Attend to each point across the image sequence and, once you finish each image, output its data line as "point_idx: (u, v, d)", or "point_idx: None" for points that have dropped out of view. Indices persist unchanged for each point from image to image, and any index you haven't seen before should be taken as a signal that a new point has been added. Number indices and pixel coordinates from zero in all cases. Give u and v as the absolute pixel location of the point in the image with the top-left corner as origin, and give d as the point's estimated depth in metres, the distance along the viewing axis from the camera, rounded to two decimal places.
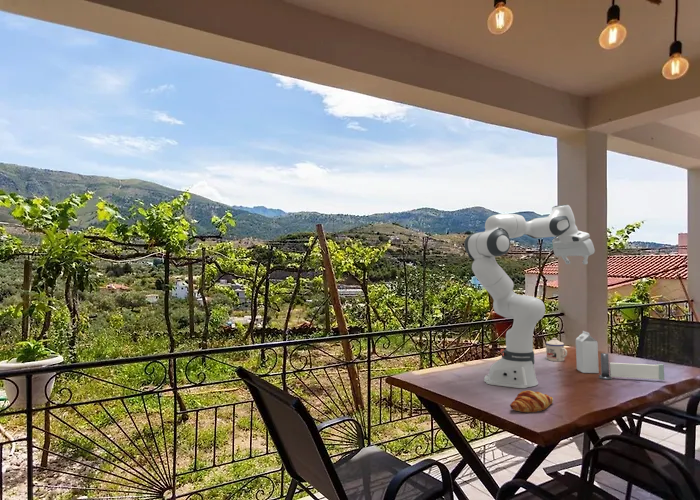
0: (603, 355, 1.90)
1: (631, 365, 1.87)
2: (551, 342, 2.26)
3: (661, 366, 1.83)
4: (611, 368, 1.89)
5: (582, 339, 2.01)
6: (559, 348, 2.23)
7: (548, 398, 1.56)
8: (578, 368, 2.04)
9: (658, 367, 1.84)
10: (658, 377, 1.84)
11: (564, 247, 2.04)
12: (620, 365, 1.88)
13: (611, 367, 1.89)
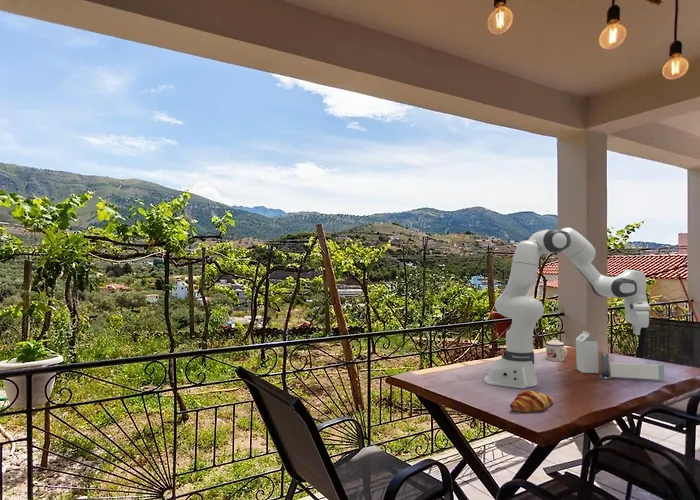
0: (603, 355, 1.90)
1: (631, 365, 1.87)
2: (551, 342, 2.26)
3: (661, 366, 1.83)
4: (611, 368, 1.89)
5: (582, 339, 2.01)
6: (559, 348, 2.23)
7: (548, 398, 1.56)
8: (578, 368, 2.04)
9: (658, 367, 1.84)
10: (658, 377, 1.84)
11: (630, 313, 1.97)
12: (620, 365, 1.88)
13: (611, 367, 1.89)
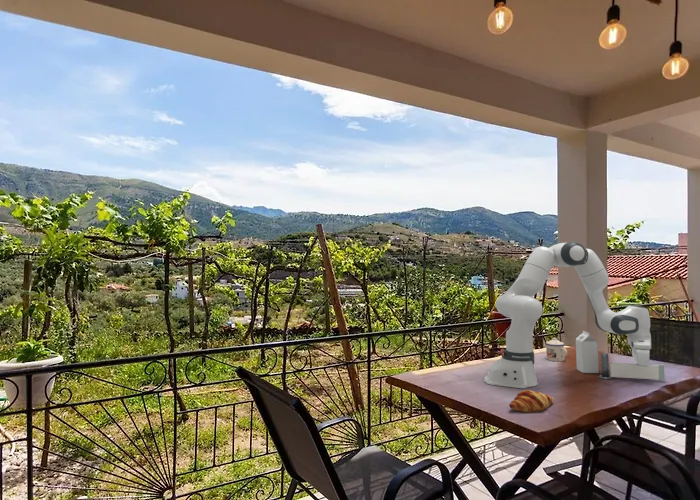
0: (603, 355, 1.90)
1: (631, 365, 1.87)
2: (551, 342, 2.26)
3: (661, 366, 1.83)
4: (611, 368, 1.89)
5: (582, 339, 2.01)
6: (559, 348, 2.23)
7: (548, 398, 1.56)
8: (578, 368, 2.04)
9: (658, 367, 1.84)
10: (658, 377, 1.84)
11: (634, 350, 1.93)
12: (620, 365, 1.88)
13: (611, 367, 1.89)
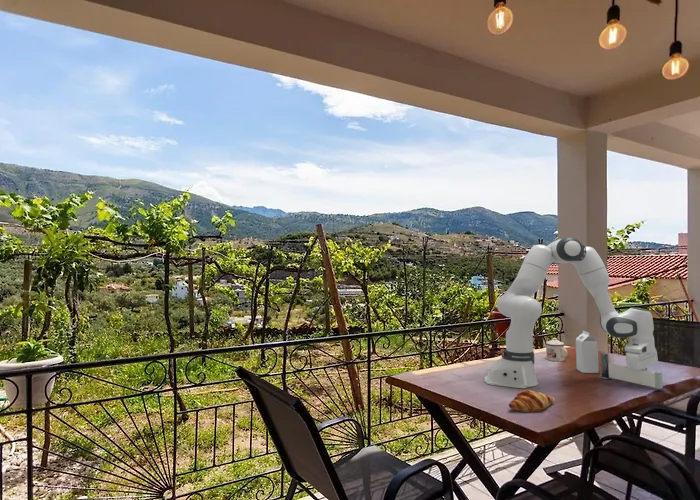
0: (603, 355, 1.90)
1: None
2: (551, 342, 2.26)
3: (657, 374, 1.72)
4: (609, 369, 1.88)
5: (582, 339, 2.01)
6: (559, 348, 2.23)
7: (548, 398, 1.56)
8: (578, 368, 2.04)
9: (654, 374, 1.73)
10: (654, 385, 1.73)
11: None
12: (617, 367, 1.85)
13: (609, 368, 1.88)
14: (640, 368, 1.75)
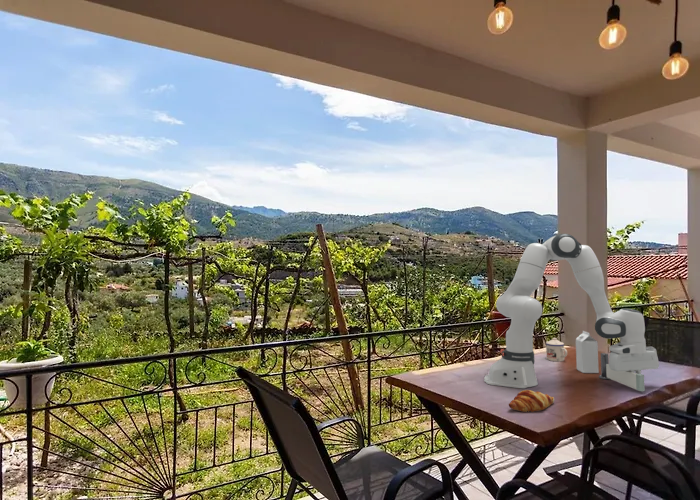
0: (603, 355, 1.90)
1: None
2: (551, 342, 2.26)
3: (637, 376, 1.69)
4: (606, 369, 1.88)
5: (582, 339, 2.01)
6: (559, 348, 2.23)
7: (548, 398, 1.56)
8: (578, 368, 2.04)
9: (636, 376, 1.70)
10: (636, 387, 1.70)
11: None
12: None
13: (606, 368, 1.88)
14: (623, 369, 1.74)
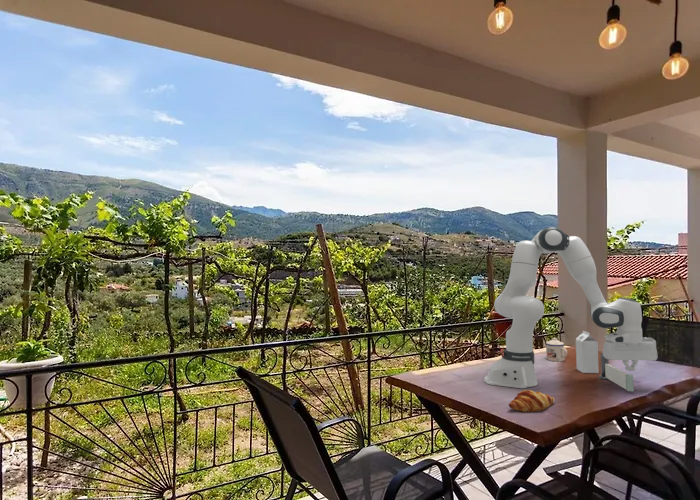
0: None
1: (613, 369, 1.81)
2: (551, 342, 2.26)
3: (626, 376, 1.70)
4: (605, 369, 1.89)
5: (582, 339, 2.01)
6: (559, 348, 2.23)
7: (549, 398, 1.56)
8: (578, 368, 2.04)
9: (626, 376, 1.71)
10: (626, 387, 1.71)
11: None
12: (609, 367, 1.85)
13: (605, 368, 1.89)
14: (616, 358, 1.74)
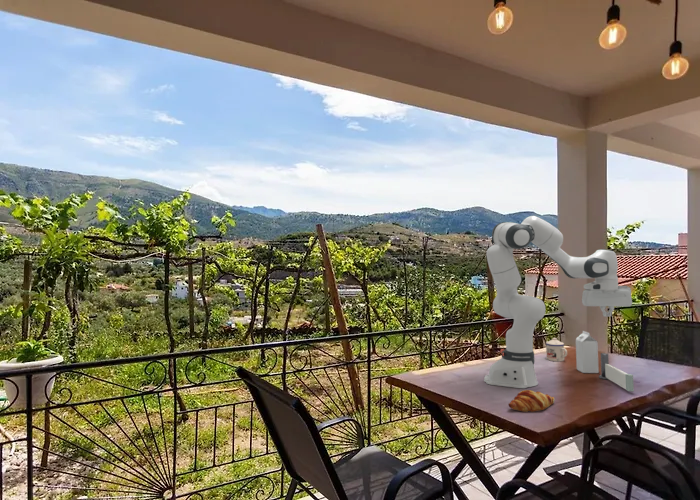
0: (603, 355, 1.90)
1: (613, 369, 1.81)
2: (551, 342, 2.26)
3: (626, 376, 1.70)
4: (605, 369, 1.89)
5: (582, 339, 2.01)
6: (559, 348, 2.23)
7: (549, 398, 1.56)
8: (578, 368, 2.04)
9: (626, 376, 1.71)
10: (626, 387, 1.71)
11: None
12: (609, 367, 1.85)
13: (605, 368, 1.89)
14: (594, 304, 1.87)
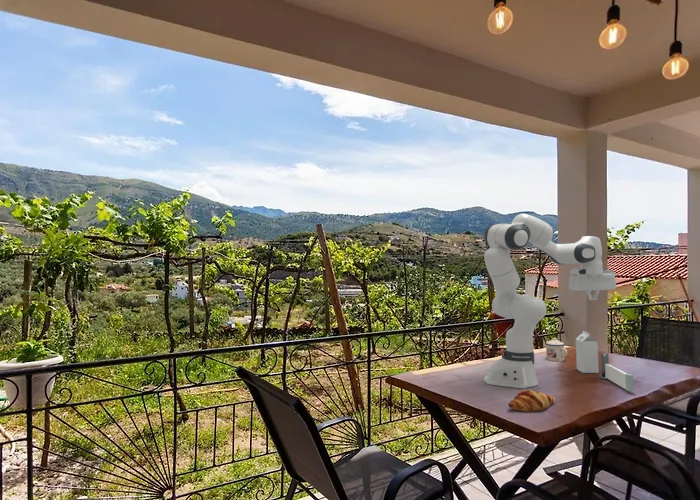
0: (603, 355, 1.90)
1: (613, 369, 1.81)
2: (551, 342, 2.26)
3: (626, 376, 1.70)
4: (605, 369, 1.89)
5: (582, 339, 2.01)
6: (559, 348, 2.23)
7: (549, 398, 1.56)
8: (578, 368, 2.04)
9: (626, 376, 1.71)
10: (626, 387, 1.71)
11: None
12: (609, 367, 1.85)
13: (605, 368, 1.89)
14: (580, 288, 1.95)
